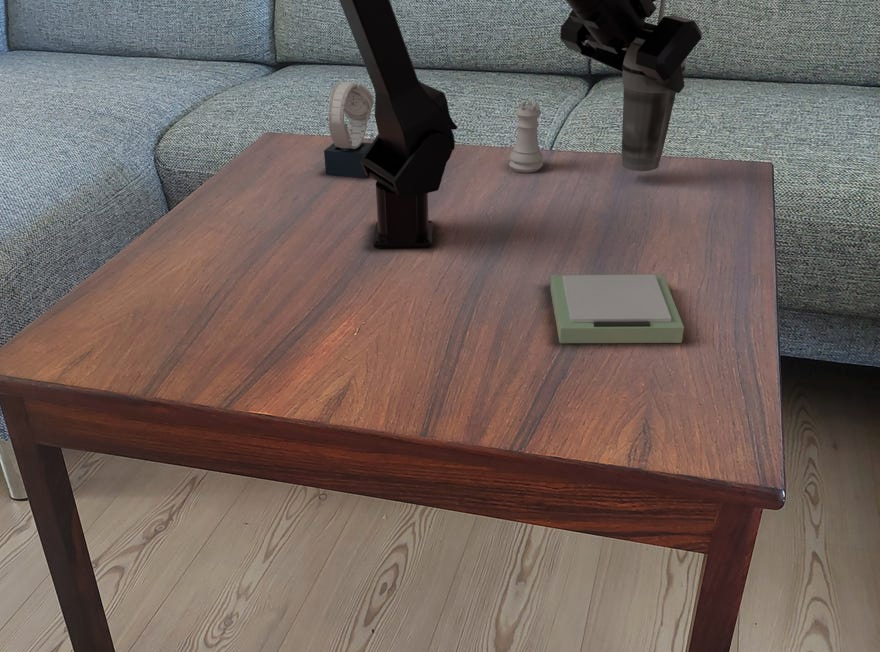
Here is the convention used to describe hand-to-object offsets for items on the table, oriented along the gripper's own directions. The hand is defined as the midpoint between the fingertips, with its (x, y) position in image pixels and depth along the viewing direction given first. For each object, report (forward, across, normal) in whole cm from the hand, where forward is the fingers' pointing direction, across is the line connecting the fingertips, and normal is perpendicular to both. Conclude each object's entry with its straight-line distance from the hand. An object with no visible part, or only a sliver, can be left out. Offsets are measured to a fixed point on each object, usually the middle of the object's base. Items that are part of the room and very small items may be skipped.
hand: (660, 82), depth 111 cm
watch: (-13, +23, +30) cm, 40 cm away
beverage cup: (+6, 0, +8) cm, 10 cm away
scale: (-10, -27, +27) cm, 39 cm away
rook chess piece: (+1, +11, +16) cm, 20 cm away
